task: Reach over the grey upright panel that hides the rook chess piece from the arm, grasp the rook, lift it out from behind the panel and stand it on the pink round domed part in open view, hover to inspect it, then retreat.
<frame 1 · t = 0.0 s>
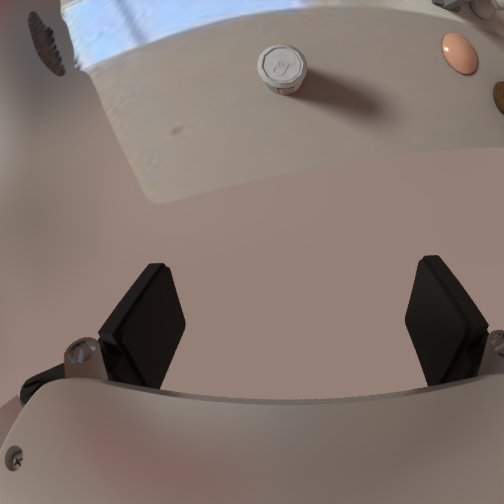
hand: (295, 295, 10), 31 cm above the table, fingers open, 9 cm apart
beer can: (283, 78, 32), on the table
pink round domed part: (459, 53, 25), on the table
utensil holder: (502, 97, 26), on the table
rook chess piece: (478, 8, 19), on the table
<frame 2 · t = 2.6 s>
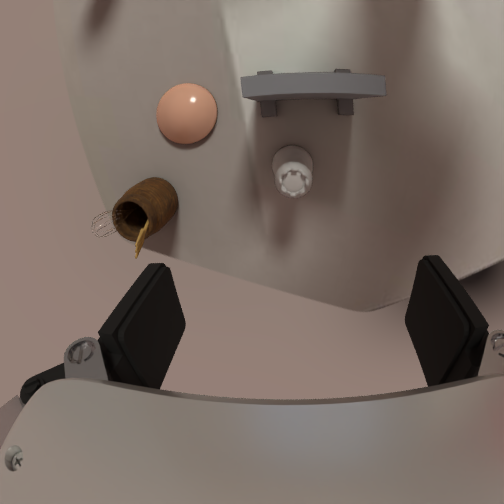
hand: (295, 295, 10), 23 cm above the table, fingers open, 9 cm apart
pink round domed part: (186, 113, 28), on the table
grey upright panel: (305, 92, 26), on the table
utensil holder: (159, 198, 34), on the table
rook chess piece: (292, 164, 30), on the table
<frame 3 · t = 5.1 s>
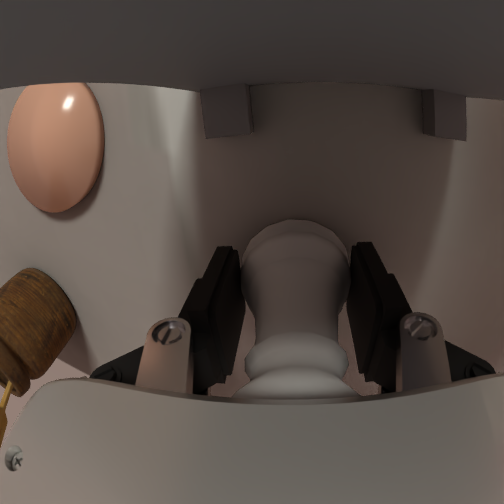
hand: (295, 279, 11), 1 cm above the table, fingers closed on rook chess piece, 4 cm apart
pink round domed part: (51, 142, 10), on the table
grey upright panel: (338, 63, 8), on the table
utensil holder: (50, 299, 16), on the table
rook chess piece: (295, 261, 12), on the table, touching gripper
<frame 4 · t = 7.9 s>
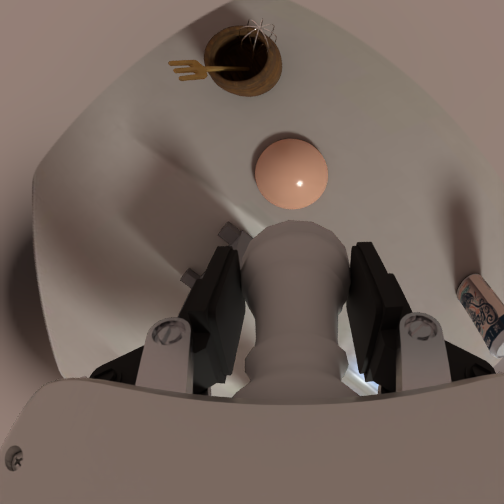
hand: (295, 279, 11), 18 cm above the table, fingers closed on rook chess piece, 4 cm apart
beer can: (468, 285, 30), on the table
pink round domed part: (291, 173, 27), on the table
grey upright panel: (220, 263, 33), on the table
utensil holder: (249, 69, 22), on the table
rook chess piece: (295, 262, 12), point 17 cm above the table, touching gripper
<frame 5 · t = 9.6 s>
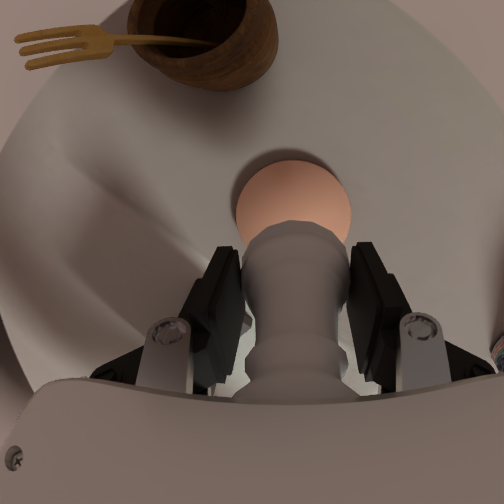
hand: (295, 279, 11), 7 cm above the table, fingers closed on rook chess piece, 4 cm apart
beer can: (503, 340, 21), on the table
pink round domed part: (293, 215, 17), on the table
utensil holder: (226, 48, 13), on the table
rook chess piece: (295, 262, 12), point 6 cm above the table, touching gripper
when the fingers open (3 cm above the table, at t = 10.9 s): rook chess piece drops 1 cm, resting on pink round domed part.
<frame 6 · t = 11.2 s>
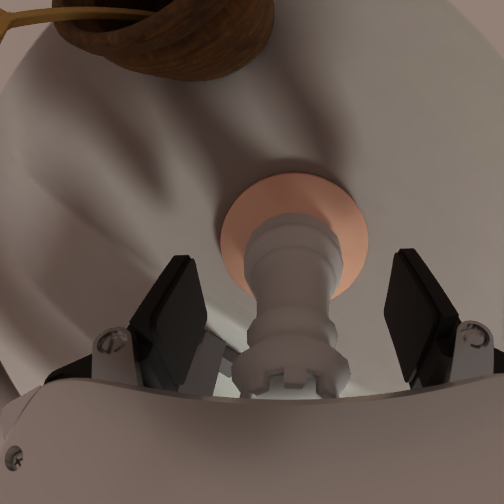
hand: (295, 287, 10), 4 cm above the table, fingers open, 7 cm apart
pink round domed part: (294, 243, 14), on the table
grey upright panel: (179, 366, 19), on the table
utensil holder: (205, 27, 9), on the table
rook chess piece: (293, 251, 13), resting on pink round domed part
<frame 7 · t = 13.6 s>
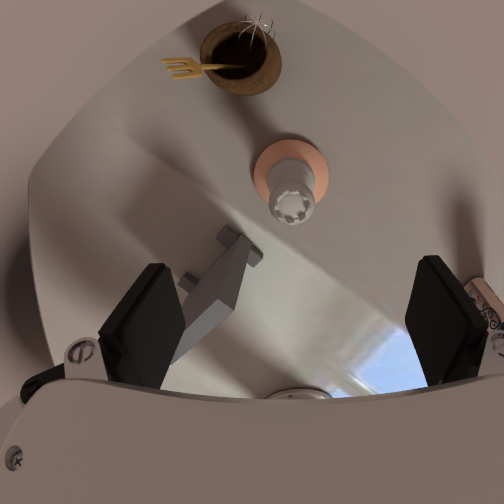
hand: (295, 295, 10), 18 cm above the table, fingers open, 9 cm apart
beer can: (470, 289, 29), on the table
pink round domed part: (291, 175, 26), on the table
grey upright panel: (218, 267, 32), on the table
utensil holder: (248, 67, 22), on the table
rook chess piece: (290, 178, 26), resting on pink round domed part
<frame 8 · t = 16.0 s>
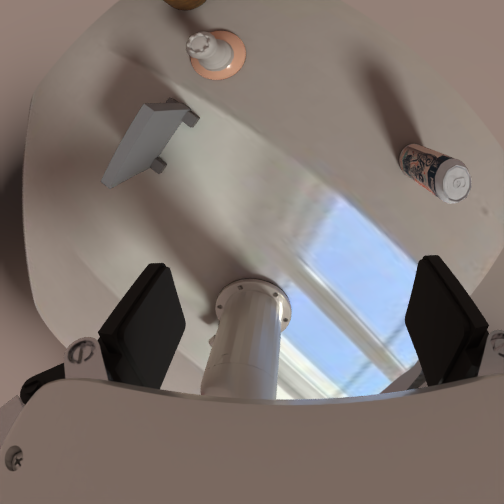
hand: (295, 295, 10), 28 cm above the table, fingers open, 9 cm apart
beer can: (412, 159, 32), on the table
pink round domed part: (218, 55, 29), on the table
grey upright panel: (166, 135, 35), on the table
rook chess piece: (217, 56, 29), resting on pink round domed part
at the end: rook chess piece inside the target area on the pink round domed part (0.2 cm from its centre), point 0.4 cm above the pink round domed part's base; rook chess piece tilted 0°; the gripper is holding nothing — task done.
